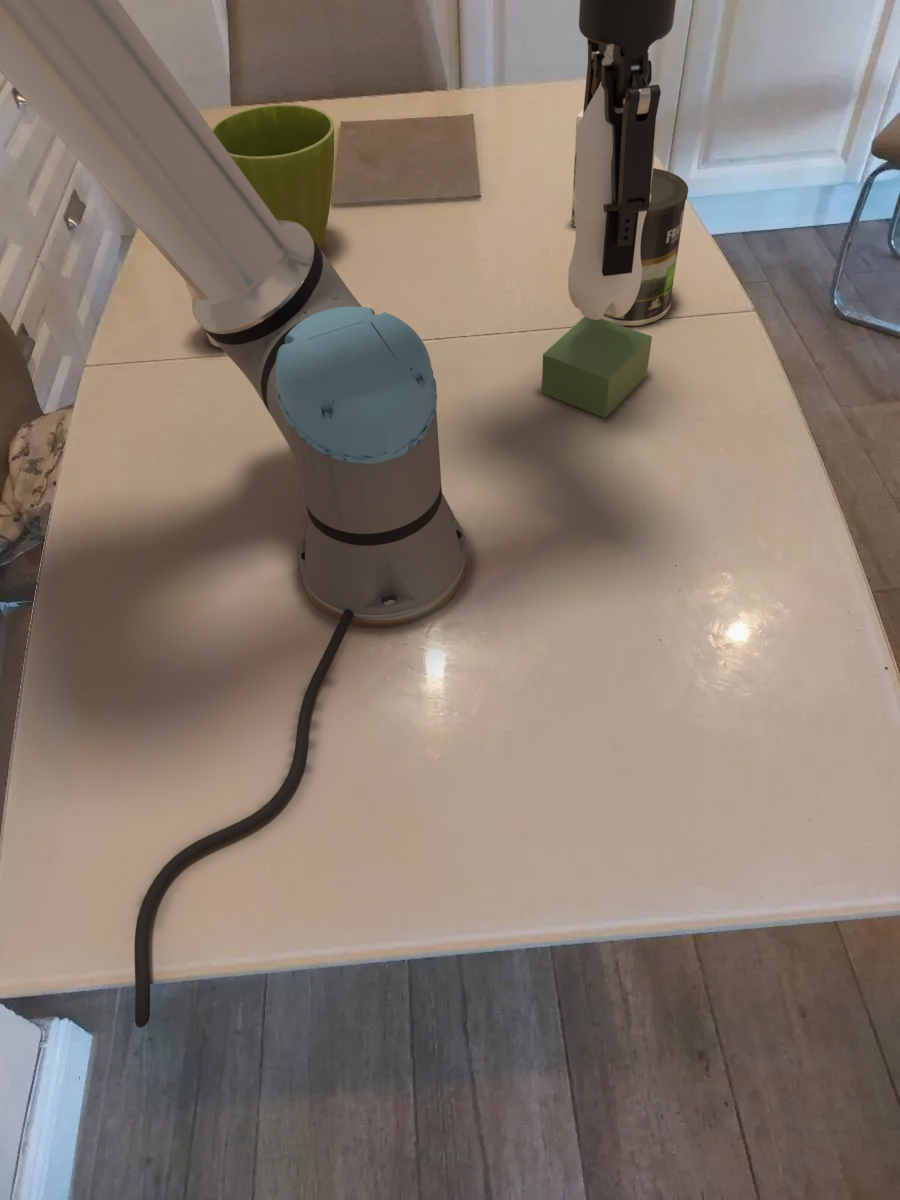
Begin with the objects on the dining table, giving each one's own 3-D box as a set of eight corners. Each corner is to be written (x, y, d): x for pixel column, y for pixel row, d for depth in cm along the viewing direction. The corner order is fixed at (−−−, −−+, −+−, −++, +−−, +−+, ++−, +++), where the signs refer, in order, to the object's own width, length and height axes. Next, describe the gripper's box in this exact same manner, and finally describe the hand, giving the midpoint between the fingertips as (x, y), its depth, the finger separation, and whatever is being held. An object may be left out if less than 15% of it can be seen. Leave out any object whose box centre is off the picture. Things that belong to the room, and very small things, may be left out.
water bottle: (635, 329, 90) (669, 49, 71) (562, 324, 91) (576, 47, 72) (640, 290, 94) (673, 16, 75) (571, 285, 96) (586, 15, 77)
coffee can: (676, 285, 112) (694, 169, 101) (663, 331, 106) (681, 214, 95) (593, 275, 114) (602, 162, 104) (576, 320, 108) (584, 205, 97)
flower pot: (353, 222, 126) (336, 100, 114) (348, 279, 117) (330, 152, 104) (246, 229, 126) (218, 107, 114) (232, 286, 117) (200, 160, 105)
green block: (605, 418, 96) (609, 379, 92) (541, 393, 99) (542, 354, 96) (646, 375, 101) (652, 336, 97) (584, 352, 104) (587, 313, 100)
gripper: (719, 13, 64) (675, 302, 82) (641, -66, 77) (617, 198, 95) (616, 24, 64) (593, 312, 81) (554, -57, 77) (546, 207, 94)
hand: (606, 251), depth 88 cm, fingers closed on water bottle, 7 cm apart
